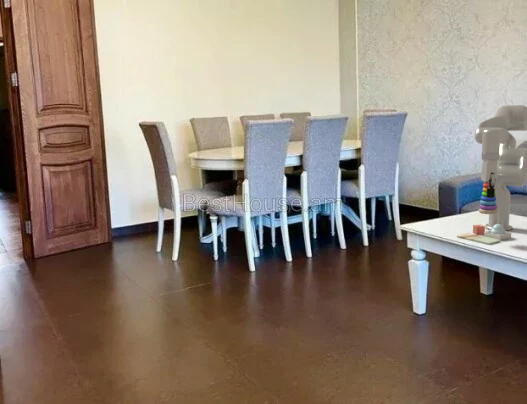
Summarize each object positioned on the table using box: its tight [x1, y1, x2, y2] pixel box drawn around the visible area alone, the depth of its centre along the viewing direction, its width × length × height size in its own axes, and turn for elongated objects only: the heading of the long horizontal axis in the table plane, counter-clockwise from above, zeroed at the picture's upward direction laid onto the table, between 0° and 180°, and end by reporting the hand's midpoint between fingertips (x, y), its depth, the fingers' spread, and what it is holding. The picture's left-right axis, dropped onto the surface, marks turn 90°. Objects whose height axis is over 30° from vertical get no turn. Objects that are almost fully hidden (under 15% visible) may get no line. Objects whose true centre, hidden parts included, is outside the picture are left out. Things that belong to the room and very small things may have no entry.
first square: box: [456, 232, 484, 242], centre depth 259 cm, size 8×8×1 cm
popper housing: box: [483, 229, 512, 241], centre depth 258 cm, size 9×9×3 cm
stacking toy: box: [478, 181, 498, 215], centre depth 248 cm, size 8×8×19 cm
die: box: [472, 224, 486, 236], centre depth 266 cm, size 4×4×4 cm
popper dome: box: [491, 224, 505, 235], centre depth 257 cm, size 6×6×5 cm
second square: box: [472, 237, 502, 246], centre depth 252 cm, size 8×8×1 cm
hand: (488, 195), depth 248 cm, fingers closed on stacking toy, 5 cm apart
